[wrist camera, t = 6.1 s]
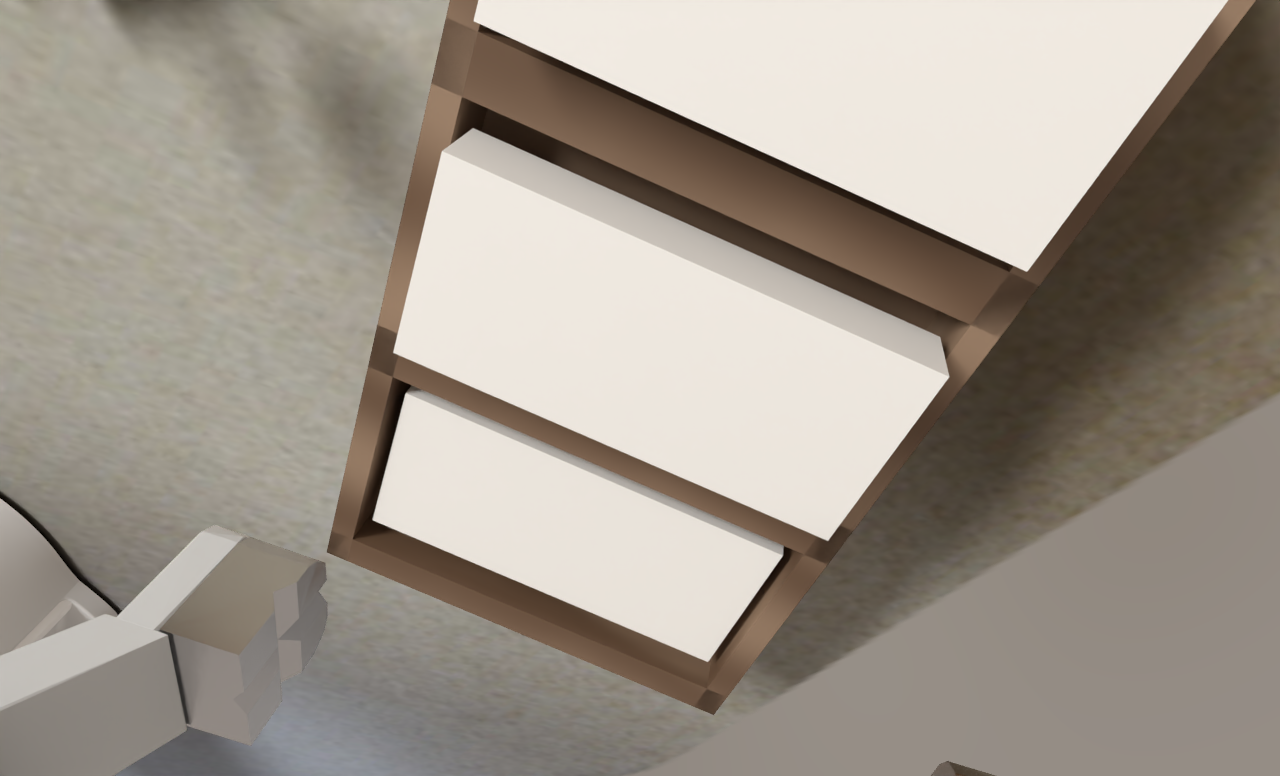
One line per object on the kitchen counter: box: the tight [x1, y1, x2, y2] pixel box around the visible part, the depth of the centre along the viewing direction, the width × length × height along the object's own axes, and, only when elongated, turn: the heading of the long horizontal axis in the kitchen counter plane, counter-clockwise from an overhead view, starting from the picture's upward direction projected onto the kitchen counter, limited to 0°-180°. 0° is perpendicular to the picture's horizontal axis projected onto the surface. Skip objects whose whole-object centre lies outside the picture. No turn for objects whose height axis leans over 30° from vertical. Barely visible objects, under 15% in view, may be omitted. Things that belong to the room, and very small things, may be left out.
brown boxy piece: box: [327, 0, 1256, 715], centre depth 25 cm, size 28×16×6 cm, turn 158°
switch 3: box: [372, 386, 784, 662], centre depth 29 cm, size 6×13×2 cm, turn 68°
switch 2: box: [393, 128, 949, 541], centre depth 22 cm, size 6×13×2 cm, turn 68°
